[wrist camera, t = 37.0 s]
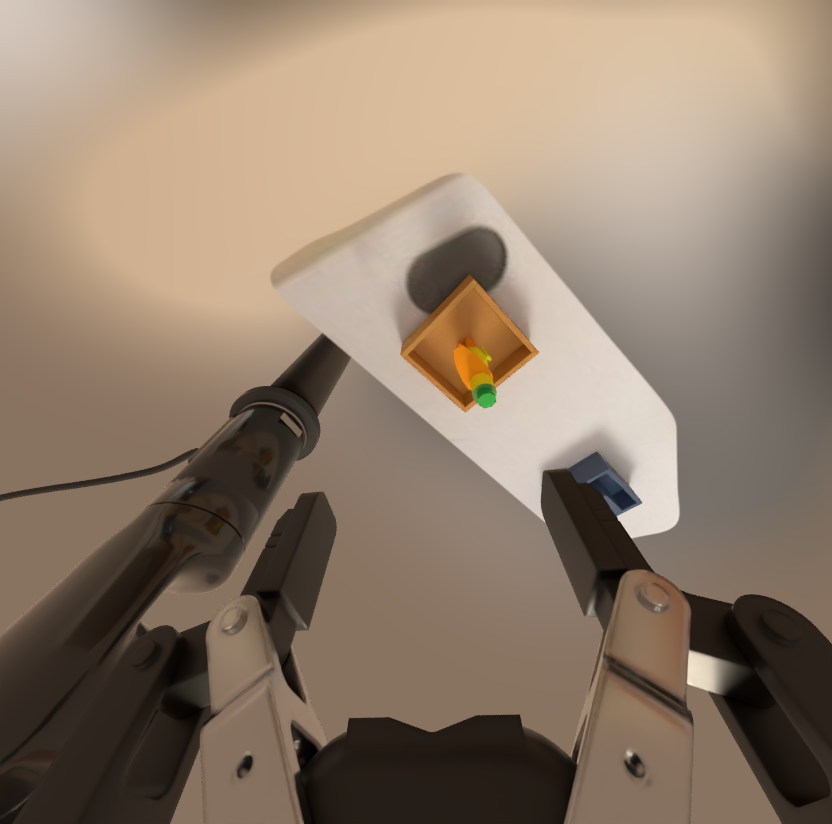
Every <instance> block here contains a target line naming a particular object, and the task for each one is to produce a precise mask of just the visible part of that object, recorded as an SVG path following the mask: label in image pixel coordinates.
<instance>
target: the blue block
mask: <svg viewBox="0 0 832 824" xmlns="http://www.w3.org/2000/svg"><path fill="white" fill-rule="evenodd" d="M588 484H590V485H591V486H592V487H594V488H595V489H596V490H597V491H599V492H600V493H601V494H602V495H603V497H604V498H605V500H606V501H607V503H608V504H609V506H610V509H611V510H613V512H614V514H615V513H617V512H619V511H621V510H622V509H621V508H620V507H619V505H618V504H617V502H616V501H615V499H614V498H613V496H612V495H611V494H610V492H609V491H608V489H607V488H606V487H605V486H604V485H603V484H602V483H601V482H600V481H599V480H598V479H596V480H594V481H592V482H590V483H588Z"/></svg>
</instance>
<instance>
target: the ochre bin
mask: <svg viewBox="0 0 832 824" xmlns="http://www.w3.org/2000/svg"><path fill="white" fill-rule="evenodd" d="M468 337H469V338H470V339H472V340H473V342H474V344H475V346H477V347H478V348H480V349H481V350H483V347H484V348H485V350H486V351H487V352H488V354H489V355H490V357H491V359H492V360H491V361H489V360H488V359H487V362H488V369H489V370H490V372H491V373H492V375H493V383H494V385H495V388H496V387H497V386H499V385H500V384H501V383H502V382H504V381H505V380H506V379H507V378H508V377H510V376H511V375H512V374H513V373H515V372H516V371H517V370H518V369H520V368H521V367H522V366H523V365H524V364H526V363H527V362H528V361H529V360H531V359H532V358H533V357H534V356H536V355H537V354H538V353H539V351H538V350H537V349H536V348H535V347H534V346H533V345H532V344H531V342H530V341H529V340H528V339H527V338H526V337H525V336H524V335H523V333H522V332H521V331H520V330H519V329H518V328H517V327H516V326H515V324H514V323H513V322H512V321H511V320H510V319H509V318H508V317H507V315H506V314H505V313H504V312H503V311H502V310H501V309H500V307H499V306H498V305H497V304H496V303H495V302H494V301H493V300H492V298H491V297H490V296H489V295H488V294H487V293H486V292H485V291H484V289H483V288H482V287H481V286H480V285H479V284H478V283H477V282H476V280H475V279H474V278H473V277H472V276H471V275H470V274H469V275H468V276H467V277H466V278H465V279H464V280H463V281H462V282H461V284H460V285H459V286H458V287H457V288H456V289H455V290H454V291H453V292H452V293H451V294H450V295H449V296H448V297H447V298H446V299H445V300H444V301H443V302H442V303H441V304H440V305H439V306H438V308H437V309H436V310H435V311H434V312H433V313H432V314H431V315H430V316H429V317H428V318H427V319H426V320H425V321H424V322H423V323H422V324H421V325H420V326H419V327H418V328H417V329H416V331H415V332H414V333H413V334H412V335H411V336H410V337H409V338H408V339H407V340H406V341H405V342H404V343H403V344H402V349H401V354H400V355H401V356H402V357H403V358H404V359H405V360H407V361H408V362H409V363H410V364H411V365H412V366H413V367H414V368H416V369H417V370H418V371H419V372H420V373H421V374H422V375H423V376H425V377H426V378H427V379H428V380H429V381H430V382H431V383H432V384H434V385H435V386H436V387H437V388H438V389H439V390H440V391H441V392H443V393H444V394H445V395H446V396H447V397H448V398H449V399H450V400H452V401H453V402H454V403H455V404H456V405H457V406H458V407H459V408H461V409H462V410H463V411H464V412H467V411H468V410H469V409H470V408H471V407H473V406H474V405H475V404H476V403H477V402H475V401H474V399H473V395H472V391H471V390H469V389H468V388H467V386H466V385H465V383H464V382H463V381H462V379H461V377H460V375H459V373H458V371H457V368H456V365H455V361H454V349H455V348H456V347H457V344H458V343H460V342H461V343H463V344H465V346H466V342H465V339H466V338H468ZM466 347H467V346H466ZM467 348H468V347H467Z"/></svg>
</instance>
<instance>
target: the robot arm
mask: <svg viewBox="0 0 832 824" xmlns="http://www.w3.org/2000/svg"><path fill="white" fill-rule="evenodd" d="M307 440H308V431H307V427H306V425H305V423H304V421H303V420H302V418H301V417H300V416H299V415H298V414H297V413H296V412H295V411H294V410H292V409H291V408H290V407H288V406H286V405H284V404H282V403H279V402H276V401H271V400H258V401H254V402H251V403H249V404H247V405H246V406H245V407H244V408H243V409H242V410H241V411H240V412H239V413H238V414H234V415H233V416H232V417H231V418H230V419H229V420H228V421H227V422H226V423H225V424H224V425H223V426H222V427H221V428H220V429H219V430H218V431H217V432H216V433H215V434H214V435H212V437H211V438H209V439H208V441H206V442H205V443H204V444H203V445H202V446H201V447H200V448H199V449H198V448H195V449H193V450H190V451H188V452H186V453H184V454H182V455H180V456H178V457H176V458H175V459H173V460H171V461H168V462H166V463H164V464H161V465H158V466H155V467H152V468H148V469H144V470H140V471H135V472H130V473H125V474H121V475H115V476H110V477H104V478H98V479H93V480H86V481H80V482H73V483H66V484H59V485H52V486H46V487H40V488H33V489H28V490H22V491H17V492H12V493H7V494H2V495H0V501H2V500H7V499H12V498H17V497H22V496H28V495H33V494H40V493H46V492H53V491H59V490H67V489H75V488H81V487H87V486H94V485H100V484H107V483H112V482H118V481H123V480H128V479H133V478H138V477H142V476H146V475H151V474H154V473H157V472H161V471H163V470H166V469H168V468H171V467H173V466H175V465H177V464H179V463H181V462H183V461H184V460H186V459H188V458H189V460H188V465H187V466H186V467H185V468H184V469H183V470H182V471H181V472H180V473H179V474H178V475H177V476H176V477H175V478H174V479H173V480H172V481H171V482H170V483H169V484H168V485H167V486H166V487H165V488H164V489H163V490H162V491H161V492H160V493H159V494H158V495H157V496H156V497H155V498H154V499H153V500H152V501H151V502H150V503H149V504H148V505H147V506H146V507H145V508H144V509H143V510H142V511H141V512H140V513H139V514H138V515H137V516H136V517H135V518H134V519H133V520H132V521H131V522H130V523H128V524H127V525H126V526H125V527H123V528H122V529H121V530H119V531H118V532H117V533H115V534H114V535H113V536H111V537H110V538H109V539H107V540H106V541H105V542H103V543H102V544H101V545H99V546H98V547H97V548H96V549H95V550H93V551H92V552H91V553H90V554H89V555H88V556H87V557H85V558H84V559H83V560H82V561H81V562H80V563H79V564H78V565H77V566H76V567H75V568H74V569H73V570H71V571H70V572H69V573H68V574H67V575H66V576H65V577H64V578H63V579H62V580H61V581H59V582H58V583H57V584H56V585H55V586H54V587H53V588H52V589H51V590H50V591H48V592H47V593H46V594H45V595H44V596H43V597H42V598H41V599H40V600H39V601H37V602H36V603H35V604H34V605H33V606H32V607H31V608H30V609H28V610H27V611H26V612H25V613H24V614H23V615H22V616H21V617H19V618H18V619H17V620H16V621H15V622H14V623H12V624H11V625H10V626H9V627H8V628H7V629H6V630H5V631H3V632H2V633H1V634H0V824H170V822H171V820H172V817H173V814H174V812H175V809H176V807H177V804H178V802H179V799H180V797H181V794H182V792H183V789H184V787H185V784H186V781H187V779H188V776H189V774H190V771H191V769H192V766H193V764H194V761H195V758H196V756H197V753H198V751H199V748H200V757H201V776H202V777H201V778H202V797H203V798H202V799H203V819H204V824H690V816H691V815H690V814H691V791H692V766H693V741H694V725H693V717H692V713H691V711H690V710H688V708H687V703H686V693H687V684H689V685H692V686H695V687H698V688H701V689H704V690H707V691H708V692H709V694H710V696H711V698H712V699H713V701H714V703H715V705H716V707H717V708H718V710H719V712H720V714H721V715H722V717H723V719H724V720H725V723H726V725H727V726H728V728H729V730H730V732H731V733H732V735H733V737H734V739H735V741H736V742H737V744H738V746H739V748H740V749H741V751H742V753H743V755H744V757H745V758H746V760H747V762H748V764H749V765H750V767H751V769H752V771H753V773H754V774H755V776H756V778H757V780H758V782H759V783H760V785H761V787H762V789H763V790H764V792H765V794H766V796H767V797H768V799H769V801H770V803H771V804H772V807H773V808H774V810H775V812H776V814H777V815H778V817H779V819H780V821H781V823H782V824H832V644H831V643H830V642H829V640H828V639H827V638H826V637H825V636H824V635H823V634H822V633H821V632H820V631H819V630H818V628H816V627H815V626H814V625H813V624H812V623H811V622H810V621H809V620H808V619H807V618H806V617H804V616H803V615H802V614H800V613H799V612H797V611H796V610H794V609H793V608H791V607H789V606H788V605H785V604H784V603H782V602H779V601H777V600H775V599H772V598H769V597H765V596H761V595H753V594H751V595H744V596H741V597H740V598H738V599H737V600H736V602H735V603H734V604H731V603H726V602H722V601H718V600H713V599H709V598H705V597H700V596H696V595H692V594H689V593H686V592H684V591H681V590H679V589H678V588H677V587H676V586H675V585H674V584H673V583H672V582H670V581H669V580H668V579H666V578H664V577H663V576H660V575H658V574H656V573H655V572H654V571H653V570H652V569H651V567H650V566H649V565H648V563H647V562H646V560H645V559H644V557H643V556H642V554H641V553H640V551H639V550H638V548H637V547H636V545H635V544H634V542H633V541H632V539H631V538H630V536H629V535H628V533H627V532H626V530H625V529H624V527H623V526H622V524H621V523H620V521H618V518H617V517H616V515H615V514H614V512H613V510H611V509H610V506H609V504H608V503H607V501H606V500H605V498H604V497H603V495H602V494H601V493H600V492H599V491H597V490H596V489H595V488H594V487H592V486H591V485H590V484H588V483H587V482H584V483H577V482H576V480H575V479H574V477H573V475H572V474H571V472H570V471H569V469H567V468H565V469H555V470H545V471H544V472H543V479H542V491H541V509H542V513H543V517H544V519H545V522H546V524H547V527H548V529H549V531H550V534H551V536H552V539H553V541H554V544H555V546H556V548H557V551H558V553H559V556H560V558H561V561H562V563H563V565H564V568H565V570H566V573H567V575H568V577H569V580H570V582H571V585H572V587H573V589H574V592H575V594H576V597H577V599H578V602H579V604H580V607H581V609H582V611H583V614H584V616H585V617H598V619H599V621H600V624H601V626H602V628H603V632H602V636H601V640H600V644H599V648H598V652H597V656H596V660H595V665H594V668H593V672H592V677H591V680H590V684H589V688H588V692H587V696H586V700H585V704H584V707H583V711H582V714H581V718H580V721H579V725H578V729H577V733H576V737H575V740H574V745H573V748H572V752H571V757H569V756H568V755H567V754H566V753H565V752H564V751H563V750H562V749H560V748H559V747H558V746H557V745H556V744H554V743H553V742H552V741H550V740H549V739H547V738H546V737H544V736H543V735H541V734H539V733H537V732H535V731H533V730H531V729H528V728H525V727H522V723H521V718H520V715H481V716H480V715H478V716H474V717H471V718H469V719H466V720H464V721H462V722H459V723H457V724H454V725H451V726H449V727H446V728H444V729H441V730H439V731H436V732H428V731H425V730H422V729H419V728H417V727H414V726H411V725H409V724H406V723H403V722H400V721H398V720H395V719H392V718H389V717H386V718H385V717H384V718H349V721H348V728H347V732H345V733H343V734H341V735H339V736H338V737H336V738H334V739H333V740H331V741H330V742H329V743H328V741H327V738H326V735H325V732H324V730H323V727H322V725H321V723H320V721H319V719H318V717H317V715H316V713H315V711H314V709H313V706H312V704H311V701H310V698H309V694H308V691H307V688H306V684H305V681H304V678H303V675H302V672H301V668H300V665H299V662H298V659H297V655H296V652H295V649H294V646H293V644H292V641H293V638H294V635H295V631H298V630H299V631H300V630H309V626H310V623H311V619H312V616H313V613H314V609H315V606H316V602H317V599H318V595H319V592H320V588H321V585H322V581H323V578H324V574H325V571H326V567H327V563H328V560H329V557H330V553H331V549H332V546H333V543H334V539H335V536H336V519H335V516H334V514H333V512H332V509H331V507H330V505H329V503H328V500H327V498H326V496H325V494H324V493H323V492H313V493H303V494H301V495H300V497H299V499H298V500H297V503H296V505H295V507H294V509H288V510H287V511H286V512H285V514H284V515H283V516H282V517H281V518H280V519H279V520H278V521H277V523H276V525H275V527H274V529H273V531H272V533H271V537H269V539H268V541H267V543H266V545H265V549H263V551H262V553H261V555H260V557H259V559H258V561H257V563H256V565H255V567H254V569H253V571H252V573H251V575H250V577H249V579H248V581H247V583H246V585H245V587H244V589H243V591H242V593H241V595H240V596H239V597H237V598H234V599H232V600H231V601H229V602H228V603H227V604H225V605H224V606H223V607H222V608H221V609H220V610H219V611H218V612H217V613H216V614H215V616H214V617H213V619H212V620H211V621H208V622H206V623H203V624H201V625H198V626H196V627H193V628H191V629H188V630H186V631H183V632H181V633H179V632H178V631H176V630H175V629H174V628H173V627H171V626H168V625H165V626H159V627H157V628H154V629H152V628H150V627H149V626H147V625H146V624H145V623H143V622H142V621H140V620H141V619H142V617H143V616H144V615H145V614H146V612H147V611H148V610H149V608H150V607H151V606H152V605H153V604H154V603H155V602H156V600H157V599H158V598H159V597H160V596H161V594H162V593H163V592H167V593H174V594H201V593H207V592H210V591H213V590H216V589H218V588H220V587H221V586H222V585H223V584H225V583H226V582H227V581H228V580H229V578H230V577H231V576H232V574H233V572H234V571H235V569H236V567H237V566H238V564H239V562H240V560H241V558H242V556H243V555H244V553H245V551H246V550H247V548H248V546H249V544H250V542H251V541H252V539H253V537H254V535H255V533H256V532H257V530H258V528H259V526H260V524H261V522H262V521H263V519H264V517H265V515H266V513H267V512H268V510H269V508H270V506H271V504H272V503H273V501H274V499H275V497H276V495H277V494H278V492H279V490H280V488H281V487H282V485H283V483H284V481H285V479H286V478H287V476H288V474H289V472H290V470H291V468H292V467H293V465H294V463H295V461H296V460H297V458H298V456H299V454H300V453H301V451H302V450H303V449H304V447H305V445H306V443H307Z"/></svg>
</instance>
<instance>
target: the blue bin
mask: <svg viewBox="0 0 832 824" xmlns="http://www.w3.org/2000/svg"><path fill="white" fill-rule="evenodd" d="M569 471H570V472H571V474H572V475H573V477H574V479H575V480H576V482H577V483H584V482H587V483H590V482H592V481H594V480H596V479H598V480H599V481H600V482H601V483H602V484H603V485H604V486H605V487H606V488H607V489H608V491H609V492H610V494H611V495H612V496H613V498H614V499H615V501H616V502H617V504H618V505H619V507H620V508H621V509H622V510H621V511H619V512H617V513H615V515H616V516H618V515H620V514H622V513H624V512H626V511H628V510H630V509H632V508H634V507H636V506H638V505H640V504H642V502H641V500H640V499H639V498H638V496H637V495H636V494H635V493H634V491H633V490H632V489H631V487H630V486H629V485H628V484H627V483H626V482H625V481H624V480H623V479H622V478H621V477H620V476H619V474H618V473H617V472H616V471H615V470H614V469H613V468H612V467H611V466H610V465H609V464H608V463H607V462H606V461H605V460H604V459H603V458H602V457H601V455H600V454H599V453H598V452H596V453H594V454H592V455H591V456H589V457H587V458H586V459H584V460H582V461H581V462H579V463H578V464H576V465H574V466H573V467H571V468H569ZM541 486H542V485H541Z"/></svg>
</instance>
